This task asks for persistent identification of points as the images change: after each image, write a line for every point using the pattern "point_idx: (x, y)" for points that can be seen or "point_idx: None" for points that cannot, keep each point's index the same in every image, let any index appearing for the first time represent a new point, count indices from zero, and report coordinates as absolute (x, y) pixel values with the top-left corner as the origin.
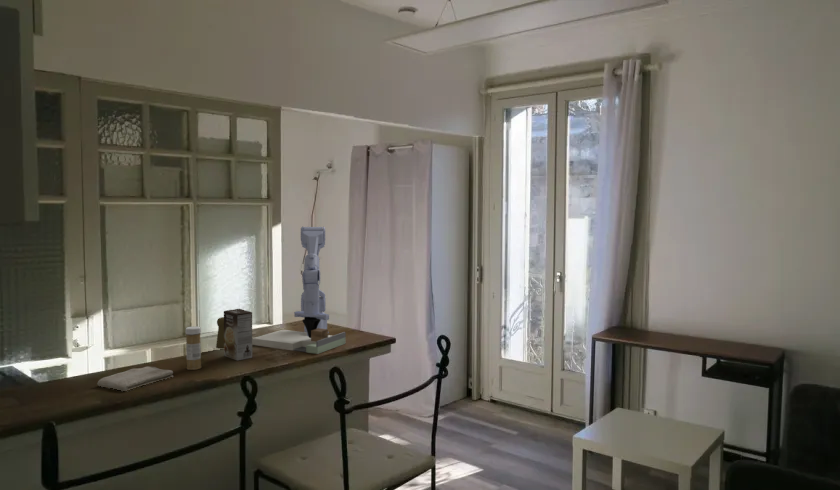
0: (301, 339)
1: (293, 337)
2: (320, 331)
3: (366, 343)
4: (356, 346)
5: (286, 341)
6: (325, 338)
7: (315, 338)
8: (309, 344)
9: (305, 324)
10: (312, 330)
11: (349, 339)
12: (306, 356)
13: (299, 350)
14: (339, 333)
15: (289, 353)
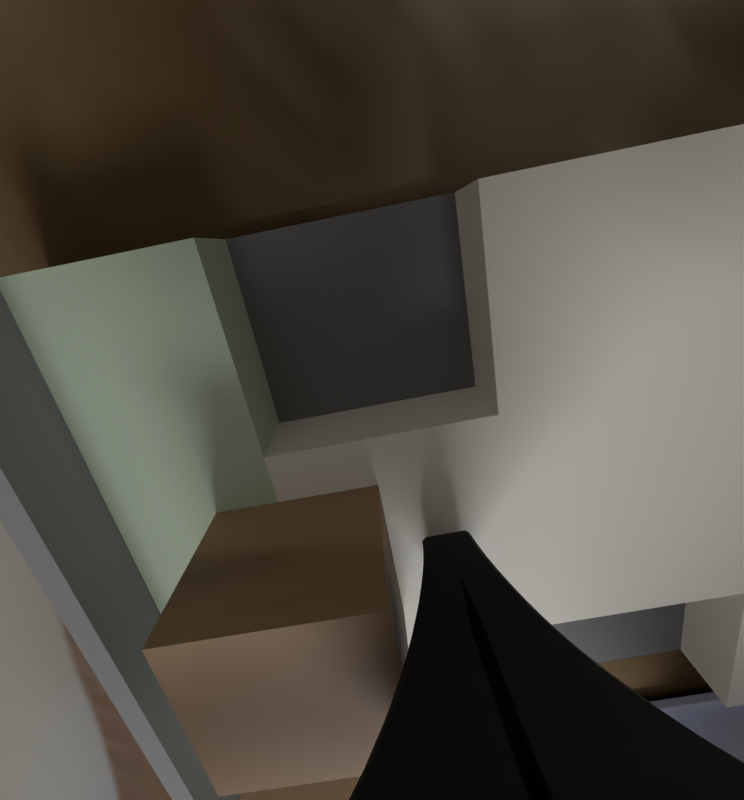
0: (554, 462)
1: (734, 475)
2: (152, 647)
3: (128, 790)
4: (90, 703)
5: (681, 229)
6: (24, 537)
7: (300, 524)
8: (214, 322)
9: (607, 710)
10: (353, 616)
11: (340, 795)
12: (19, 59)
13: (341, 218)
14: (190, 797)
15: (360, 19)
